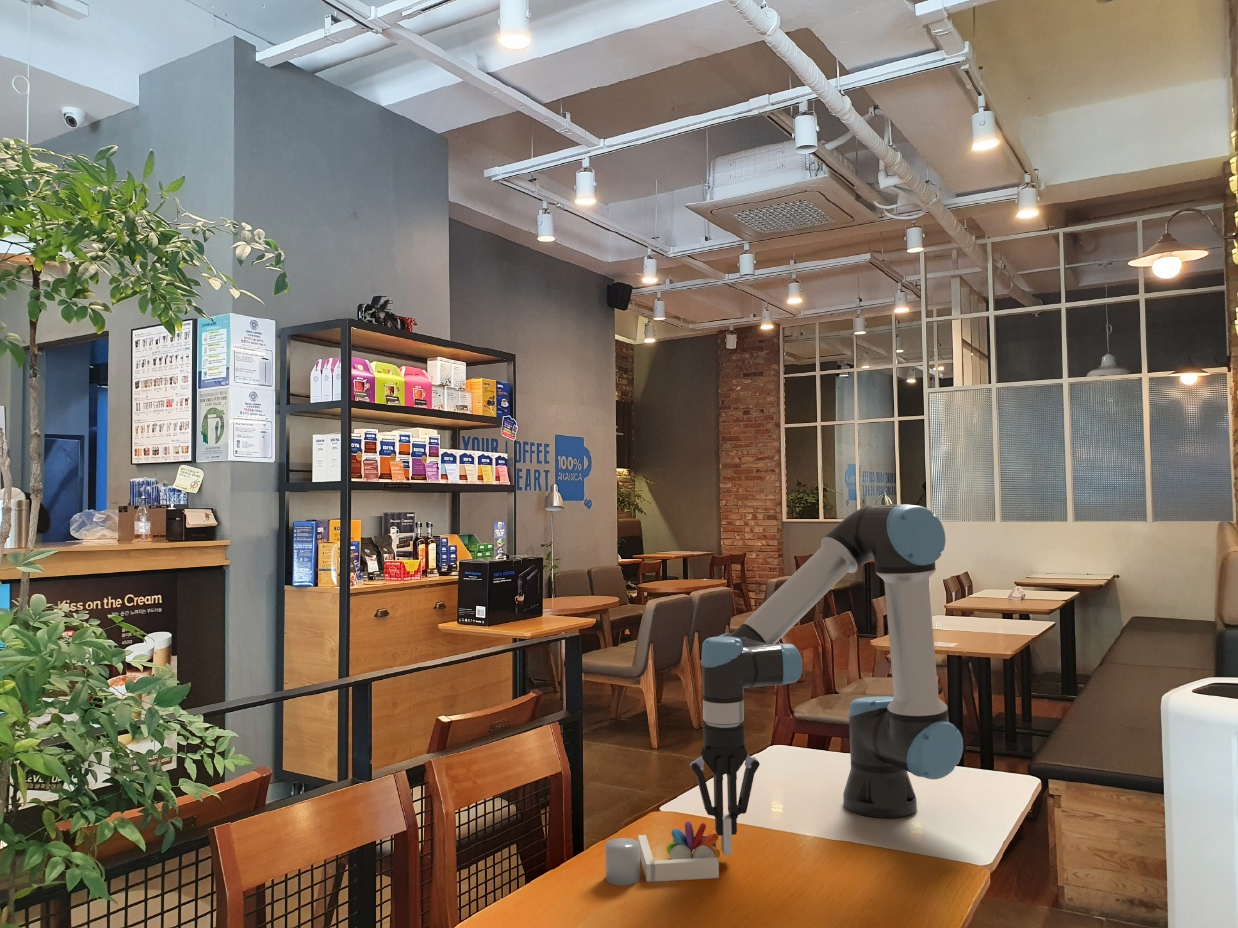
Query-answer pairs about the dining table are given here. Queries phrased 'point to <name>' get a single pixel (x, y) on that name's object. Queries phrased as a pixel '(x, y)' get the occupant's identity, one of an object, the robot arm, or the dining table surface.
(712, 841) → the rainbow petal fan toy
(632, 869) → the short grey cylinder
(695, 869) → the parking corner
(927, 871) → the dining table surface
